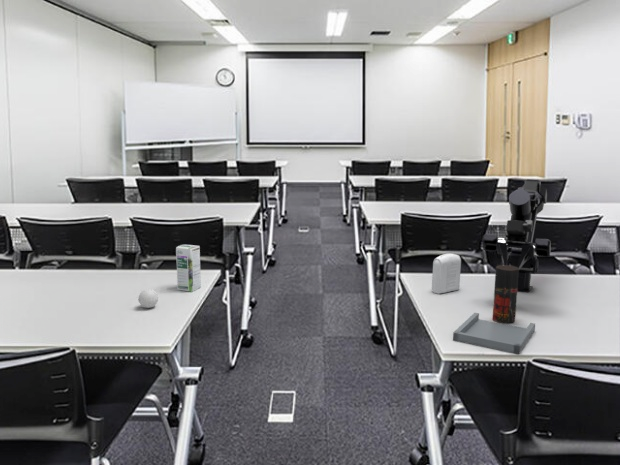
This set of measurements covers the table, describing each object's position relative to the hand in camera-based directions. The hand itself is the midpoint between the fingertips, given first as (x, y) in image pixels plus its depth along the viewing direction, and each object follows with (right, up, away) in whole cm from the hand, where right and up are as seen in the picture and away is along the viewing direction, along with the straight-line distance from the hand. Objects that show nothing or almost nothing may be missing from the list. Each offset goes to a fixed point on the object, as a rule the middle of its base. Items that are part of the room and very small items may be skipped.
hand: (511, 269), depth 159 cm
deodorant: (-4, -14, -5) cm, 15 cm away
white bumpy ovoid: (-107, -12, +5) cm, 108 cm away
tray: (-10, -16, -16) cm, 25 cm away
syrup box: (-98, -8, +24) cm, 101 cm away
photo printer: (-14, -9, +22) cm, 27 cm away
